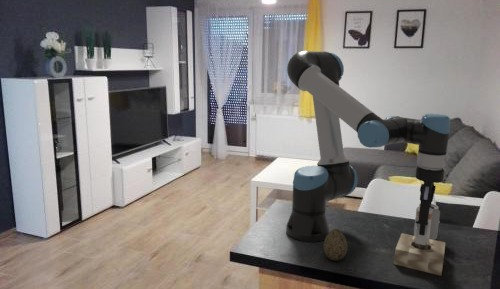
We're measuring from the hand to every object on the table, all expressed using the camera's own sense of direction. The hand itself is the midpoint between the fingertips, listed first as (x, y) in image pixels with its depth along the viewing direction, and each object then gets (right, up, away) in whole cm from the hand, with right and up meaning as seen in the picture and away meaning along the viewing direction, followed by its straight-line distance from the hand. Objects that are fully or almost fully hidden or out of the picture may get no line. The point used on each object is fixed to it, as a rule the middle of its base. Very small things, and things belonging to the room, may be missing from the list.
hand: (421, 240), depth 119 cm
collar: (0, -7, +1) cm, 7 cm away
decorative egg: (-27, -6, +1) cm, 27 cm away
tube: (0, -6, +1) cm, 6 cm away
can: (+9, -4, +18) cm, 20 cm away
